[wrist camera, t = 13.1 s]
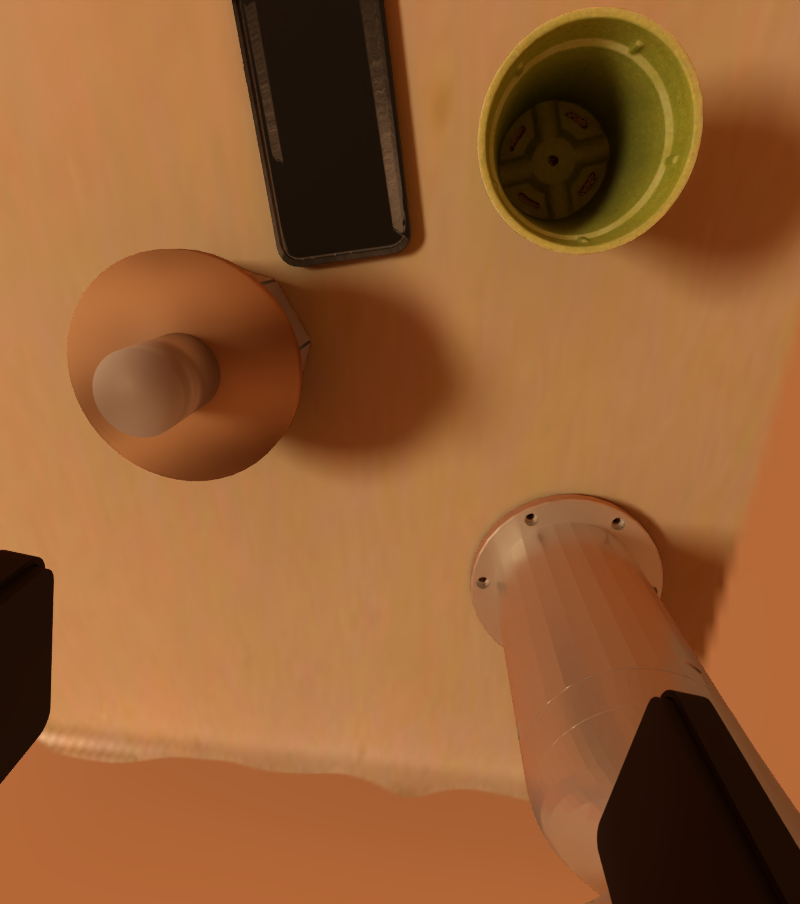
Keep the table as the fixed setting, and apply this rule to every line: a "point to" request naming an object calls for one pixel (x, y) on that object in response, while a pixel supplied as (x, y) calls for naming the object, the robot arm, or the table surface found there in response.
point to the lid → (184, 363)
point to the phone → (326, 126)
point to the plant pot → (591, 130)
